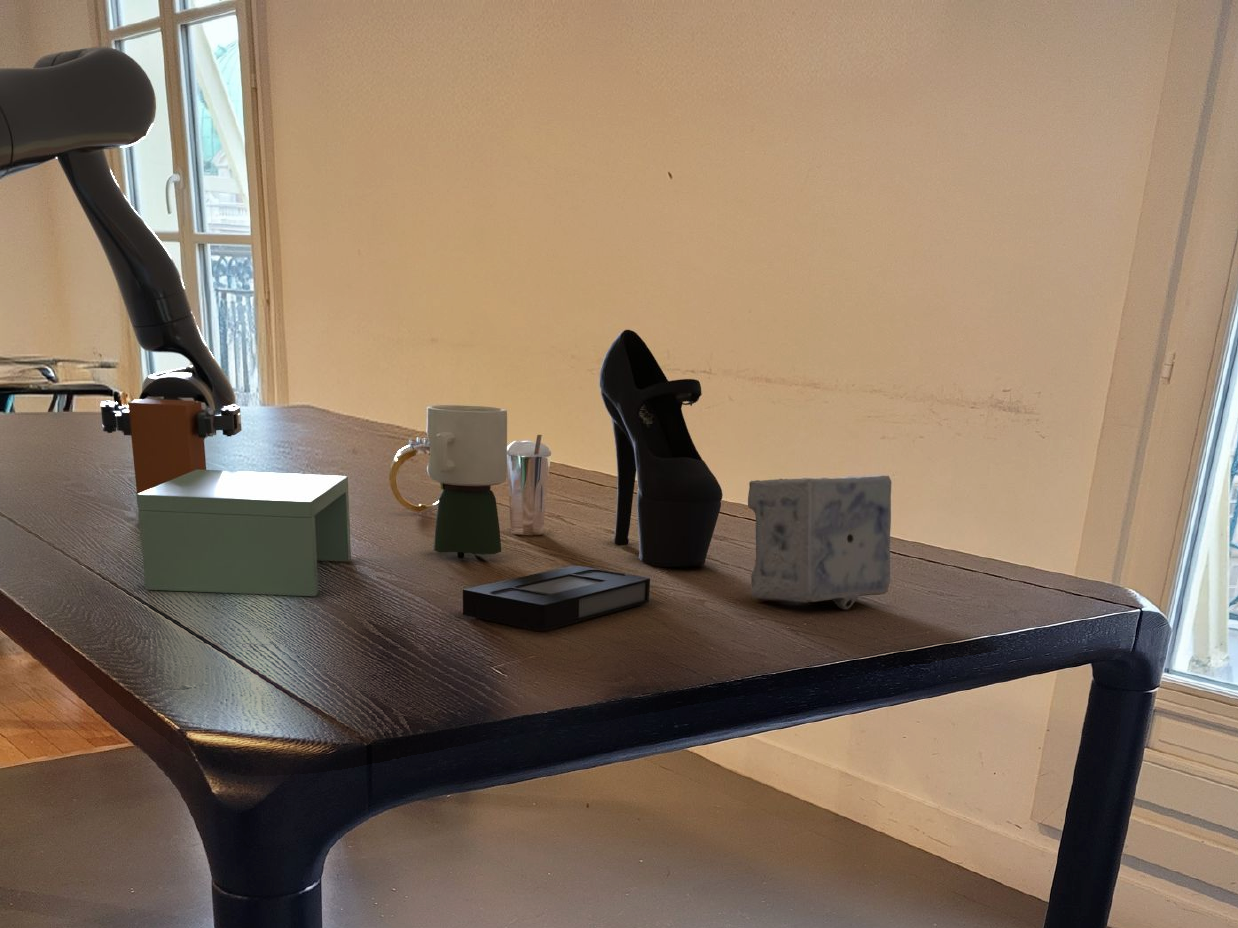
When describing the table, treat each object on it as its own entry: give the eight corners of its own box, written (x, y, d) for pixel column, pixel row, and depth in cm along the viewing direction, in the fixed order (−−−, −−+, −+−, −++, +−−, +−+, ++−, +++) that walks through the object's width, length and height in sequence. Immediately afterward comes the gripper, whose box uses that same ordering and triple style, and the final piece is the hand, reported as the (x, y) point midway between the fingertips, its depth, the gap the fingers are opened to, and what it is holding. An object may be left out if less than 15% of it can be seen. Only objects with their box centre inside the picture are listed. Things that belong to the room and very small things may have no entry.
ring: (454, 512, 142) (453, 437, 139) (455, 517, 139) (455, 440, 136) (390, 511, 141) (388, 435, 138) (390, 515, 138) (388, 438, 135)
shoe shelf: (145, 589, 99) (135, 494, 96) (203, 553, 113) (196, 469, 111) (315, 596, 99) (311, 501, 97) (351, 559, 114) (347, 476, 111)
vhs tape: (650, 603, 103) (651, 578, 102) (542, 632, 92) (543, 605, 91) (574, 589, 107) (575, 565, 106) (462, 616, 96) (462, 589, 95)
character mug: (459, 543, 124) (458, 402, 119) (526, 551, 122) (528, 407, 117) (404, 561, 114) (400, 408, 109) (476, 569, 112) (476, 414, 107)
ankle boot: (136, 518, 128) (124, 402, 123) (153, 510, 133) (143, 398, 128) (258, 524, 128) (250, 408, 124) (270, 515, 133) (264, 404, 129)
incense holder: (819, 587, 113) (832, 465, 109) (890, 606, 107) (906, 477, 103) (736, 596, 107) (746, 468, 103) (805, 617, 101) (819, 481, 97)
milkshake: (516, 538, 128) (517, 434, 124) (499, 529, 133) (499, 429, 129) (558, 537, 130) (561, 434, 126) (540, 529, 134) (542, 429, 131)
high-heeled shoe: (680, 578, 113) (694, 335, 106) (574, 542, 128) (580, 327, 120) (751, 572, 118) (770, 338, 110) (641, 538, 132) (651, 330, 124)
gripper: (103, 371, 136) (80, 381, 121) (244, 376, 140) (238, 387, 125) (111, 444, 139) (89, 463, 124) (248, 448, 143) (243, 466, 128)
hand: (164, 425), depth 125 cm, fingers closed on ankle boot, 6 cm apart
